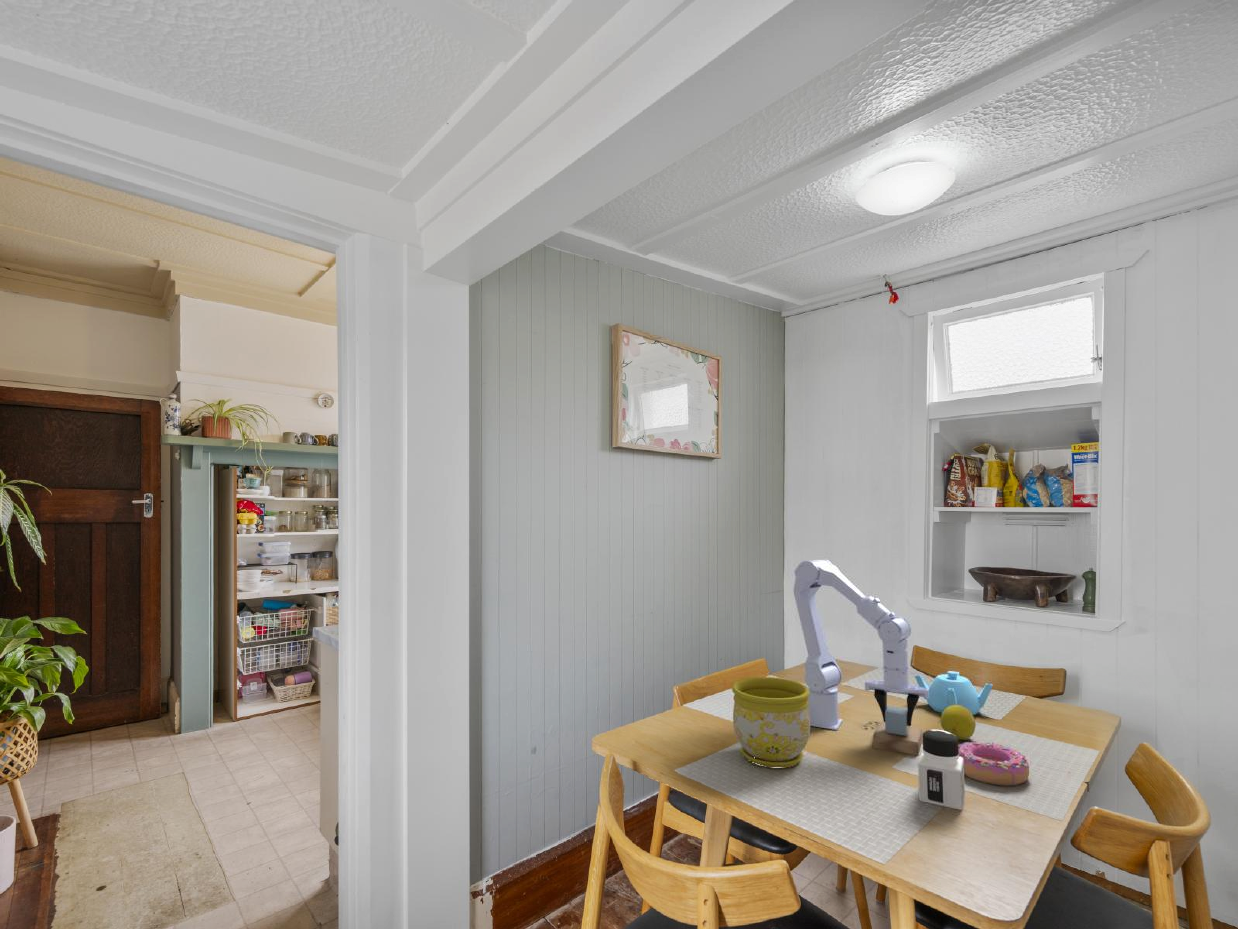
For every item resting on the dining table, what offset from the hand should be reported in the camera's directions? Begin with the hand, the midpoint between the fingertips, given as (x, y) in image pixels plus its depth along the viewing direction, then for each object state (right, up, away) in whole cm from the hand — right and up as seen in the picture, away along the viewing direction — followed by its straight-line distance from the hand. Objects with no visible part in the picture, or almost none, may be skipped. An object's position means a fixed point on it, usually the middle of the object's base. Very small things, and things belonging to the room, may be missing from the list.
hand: (897, 723), depth 156 cm
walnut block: (0, -5, 0) cm, 5 cm away
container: (-3, -4, -28) cm, 29 cm away
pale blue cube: (0, -2, -1) cm, 2 cm away
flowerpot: (-33, -5, -8) cm, 34 cm away
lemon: (+17, -6, +4) cm, 19 cm away
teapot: (+27, -7, +24) cm, 37 cm away
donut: (+13, -5, -17) cm, 22 cm away
